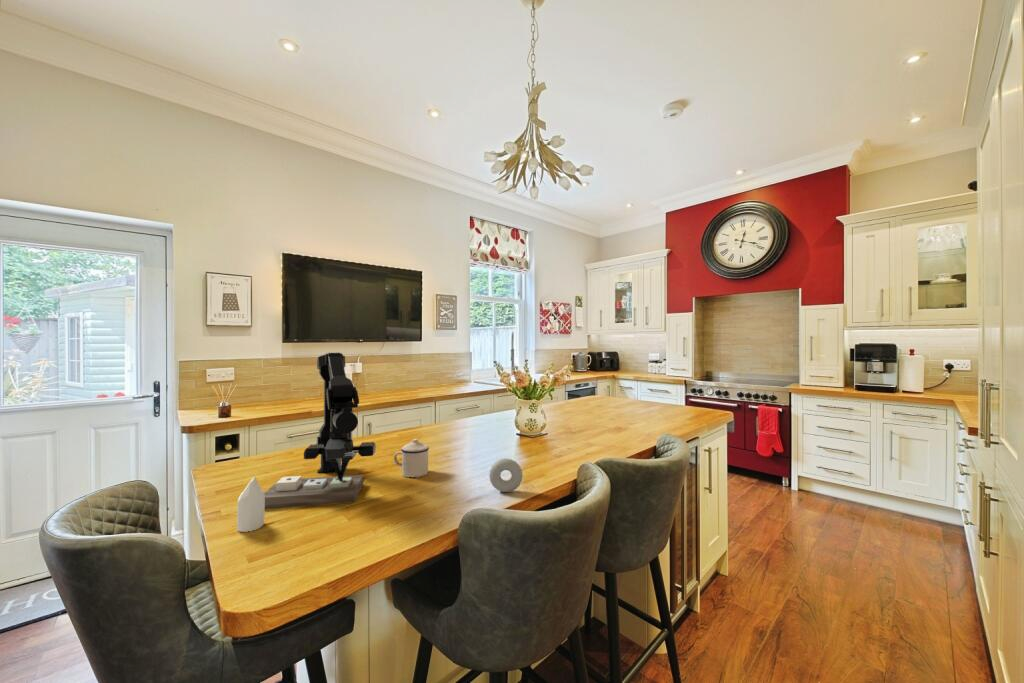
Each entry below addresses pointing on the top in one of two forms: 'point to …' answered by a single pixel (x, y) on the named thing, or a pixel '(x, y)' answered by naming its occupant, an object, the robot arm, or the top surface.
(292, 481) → the tile one
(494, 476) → the donut
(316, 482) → the tile two
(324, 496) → the grey tray with tiles
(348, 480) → the tile three
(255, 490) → the white pointed wedge
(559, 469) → the top surface
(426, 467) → the teacup with lid
